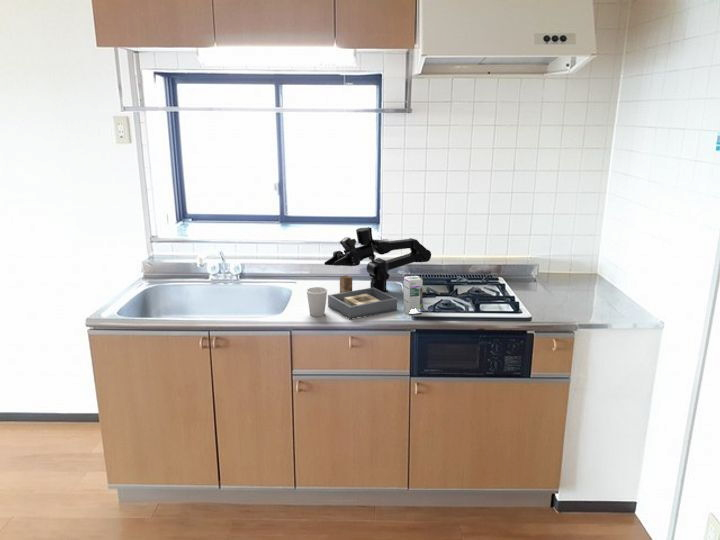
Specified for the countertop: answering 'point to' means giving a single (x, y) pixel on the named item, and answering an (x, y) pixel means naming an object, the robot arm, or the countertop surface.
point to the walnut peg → (345, 284)
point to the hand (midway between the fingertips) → (329, 263)
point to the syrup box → (412, 293)
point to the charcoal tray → (383, 306)
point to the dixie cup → (317, 300)
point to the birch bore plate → (360, 299)
